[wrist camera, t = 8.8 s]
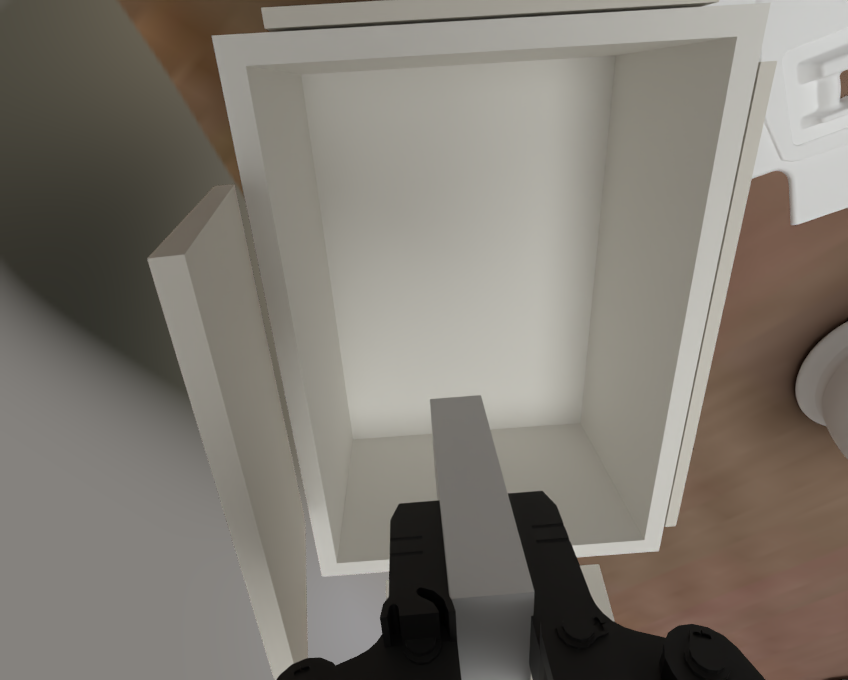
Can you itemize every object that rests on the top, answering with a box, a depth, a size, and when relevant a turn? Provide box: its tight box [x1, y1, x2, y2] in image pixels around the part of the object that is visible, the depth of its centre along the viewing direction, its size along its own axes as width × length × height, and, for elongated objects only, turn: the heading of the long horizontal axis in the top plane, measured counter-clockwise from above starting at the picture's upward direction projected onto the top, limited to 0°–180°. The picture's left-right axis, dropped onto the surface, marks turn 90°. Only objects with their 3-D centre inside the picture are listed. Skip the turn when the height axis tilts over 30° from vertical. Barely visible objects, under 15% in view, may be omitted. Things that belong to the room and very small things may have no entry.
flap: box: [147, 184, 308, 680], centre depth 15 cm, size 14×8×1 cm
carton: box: [212, 0, 777, 577], centre depth 24 cm, size 23×17×10 cm
